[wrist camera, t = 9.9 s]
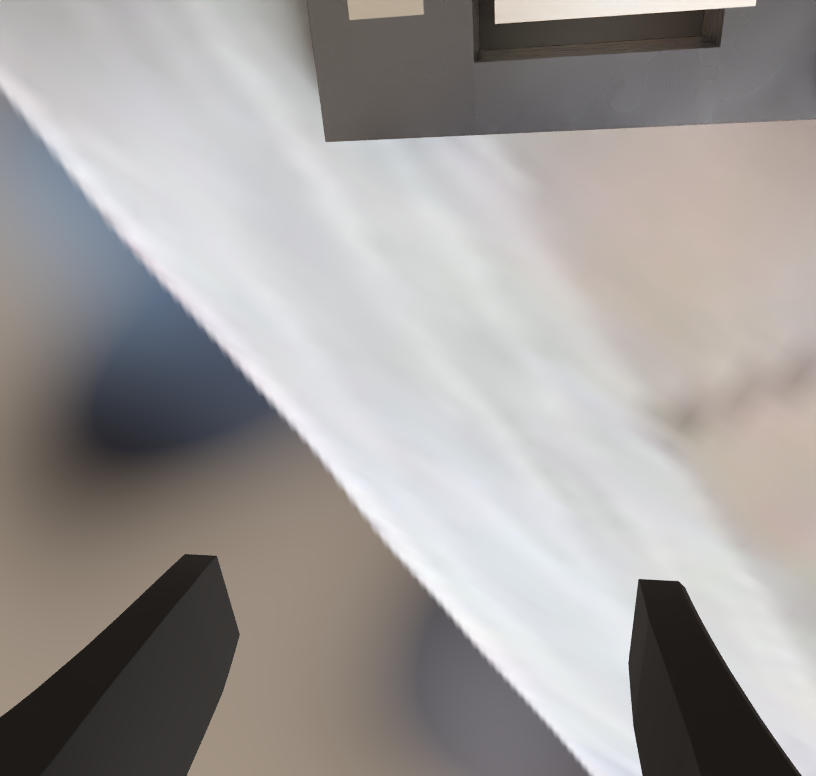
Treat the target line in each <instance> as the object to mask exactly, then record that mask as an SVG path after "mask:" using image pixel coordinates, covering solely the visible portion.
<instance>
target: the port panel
mask: <svg viewBox="0 0 816 776" xmlns="http://www.w3.org/2000/svg"><path fill="white" fill-rule="evenodd" d="M307 5H308V13H309V20H310V28H311V35H312V43H313V50H314V58H315V65H316V73H317V81H318V88H319V96H320V103H321V111H322V118H323V126H324V134H325V141H326V142H335V141H357V140H378V139H400V138H422V137H443V136H465V135H486V134H508V133H529V132H551V131H573V130H594V129H616V128H637V127H659V126H681V125H702V124H724V123H745V122H767V121H788V120H810V119H816V0H756V6H748V7H733V8H719V9H705V11H704V19H703V27H702V36H695V37H680V38H665V39H650V40H635V41H619V42H604V43H589V44H574V45H559V46H544V47H528V48H513V49H498V50H483V51H480V33H479V0H307Z"/></svg>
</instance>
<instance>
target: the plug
mask: <svg viewBox="0 0 816 776" xmlns="http://www.w3.org/2000/svg"><path fill="white" fill-rule="evenodd" d="M748 6H756V0H495V24H502V23H516V22H531V21H545V20H560V19H574V18H589V17H603V16H618V15H632V14H646V13H661V12H675V11H690V10H704V9H719V8H733V7H748Z"/></svg>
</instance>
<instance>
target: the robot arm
mask: <svg viewBox="0 0 816 776" xmlns="http://www.w3.org/2000/svg"><path fill="white" fill-rule="evenodd" d="M239 635H240V634H239V631H238V627H237V624H236V621H235V617H234V613H233V610H232V607H231V603H230V600H229V596H228V593H227V589H226V586H225V582H224V579H223V576H222V572H221V569H220V565H219V562H218V558H217V556H208V555H190V554H185V555H184V556H182V557H181V558H180V559H179V560H178V561H177V562H176V563H175V564H174V565H173V566H172V567H171V568H170V569H168V570H167V571H166V572H165V573H164V574H163V575H162V576H161V577H160V578H159V579H158V580H157V581H156V582H155V583H154V584H153V585H152V586H151V587H149V588H148V589H147V590H146V591H145V592H144V593H143V594H142V595H141V596H140V597H139V598H138V599H137V600H136V601H135V602H134V603H133V604H131V605H130V607H128V608H127V609H126V610H125V611H124V612H123V613H122V614H121V615H120V616H119V617H118V618H117V619H116V620H114V621H113V622H112V623H111V624H110V625H109V626H108V627H107V628H106V629H105V630H104V631H102V633H100V634H99V635H98V636H97V637H96V638H95V639H94V640H93V641H92V642H90V644H88V645H87V646H86V647H85V648H84V649H83V650H82V651H80V652H79V653H78V654H77V655H76V656H75V657H73V658H72V659H71V660H70V661H69V662H68V663H66V664H65V665H64V666H63V667H62V668H61V669H59V670H58V671H57V672H56V673H55V674H54V675H52V676H51V677H50V678H49V679H48V680H47V681H45V682H44V683H43V684H42V685H41V686H39V687H38V688H37V689H36V690H35V691H34V692H32V693H31V694H30V695H29V696H27V697H26V698H25V699H23V700H22V701H21V702H20V703H18V704H17V705H16V706H15V707H14V708H12V709H11V710H9V711H8V712H7V713H6V714H4V715H3V716H1V717H0V776H187V773H188V771H189V769H190V767H191V764H192V762H193V760H194V757H195V755H196V753H197V750H198V748H199V746H200V744H201V741H202V739H203V737H204V734H205V732H206V730H207V727H208V725H209V723H210V721H211V718H212V716H213V713H214V711H215V709H216V707H217V704H218V702H219V699H220V697H221V695H222V692H223V689H224V686H225V683H226V680H227V677H228V673H229V670H230V667H231V664H232V660H233V657H234V653H235V649H236V646H237V642H238V639H239ZM628 664H629V677H630V690H631V702H632V714H633V725H634V731H635V737H636V743H637V748H638V753H639V759H640V764H641V769H642V775H643V776H801V774H800V773H799V772H798V770H797V769H796V767H795V766H794V765H793V763H792V762H791V761H790V759H789V758H788V756H787V755H786V754H785V752H784V751H783V749H782V748H781V747H780V745H779V744H778V742H777V741H776V740H775V738H774V737H773V735H772V734H771V732H770V731H769V730H768V728H767V727H766V725H765V724H764V722H763V721H762V719H761V718H760V716H759V715H758V713H757V712H756V710H755V709H754V707H753V706H752V704H751V702H750V701H749V699H748V698H747V696H746V695H745V693H744V692H743V690H742V688H741V687H740V685H739V684H738V682H737V681H736V679H735V678H734V676H733V674H732V673H731V671H730V669H729V668H728V666H727V665H726V663H725V661H724V660H723V658H722V656H721V654H720V653H719V651H718V649H717V648H716V646H715V644H714V642H713V641H712V639H711V637H710V635H709V634H708V632H707V630H706V628H705V626H704V624H703V623H702V621H701V619H700V617H699V615H698V613H697V611H696V609H695V607H694V605H693V603H692V601H691V599H690V597H689V595H688V593H687V591H686V589H685V587H684V586H683V585H682V584H681V583H680V582H679V581H663V580H645V579H639V580H638V589H637V597H636V605H635V613H634V622H633V630H632V638H631V646H630V655H629V663H628Z"/></svg>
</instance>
